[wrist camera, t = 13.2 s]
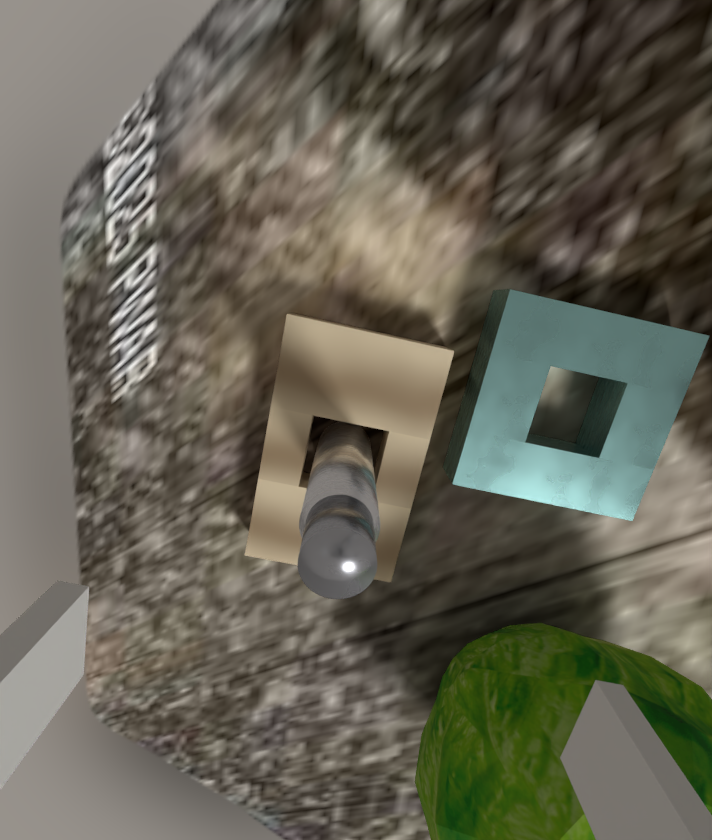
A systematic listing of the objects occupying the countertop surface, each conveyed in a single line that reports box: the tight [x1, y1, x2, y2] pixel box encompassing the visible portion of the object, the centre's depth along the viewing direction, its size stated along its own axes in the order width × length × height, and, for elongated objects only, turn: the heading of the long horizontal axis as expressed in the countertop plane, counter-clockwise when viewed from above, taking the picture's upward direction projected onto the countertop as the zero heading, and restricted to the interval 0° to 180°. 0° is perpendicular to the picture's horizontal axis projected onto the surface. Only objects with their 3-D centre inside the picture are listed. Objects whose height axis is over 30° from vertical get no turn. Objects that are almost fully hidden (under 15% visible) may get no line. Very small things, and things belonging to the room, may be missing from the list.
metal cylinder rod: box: [298, 422, 380, 599], centre depth 23 cm, size 4×4×14 cm
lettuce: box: [415, 623, 712, 840], centre depth 27 cm, size 19×25×17 cm
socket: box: [443, 289, 709, 521], centre depth 28 cm, size 12×12×3 cm
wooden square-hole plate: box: [245, 313, 454, 583], centre depth 29 cm, size 16×10×2 cm, turn 168°
